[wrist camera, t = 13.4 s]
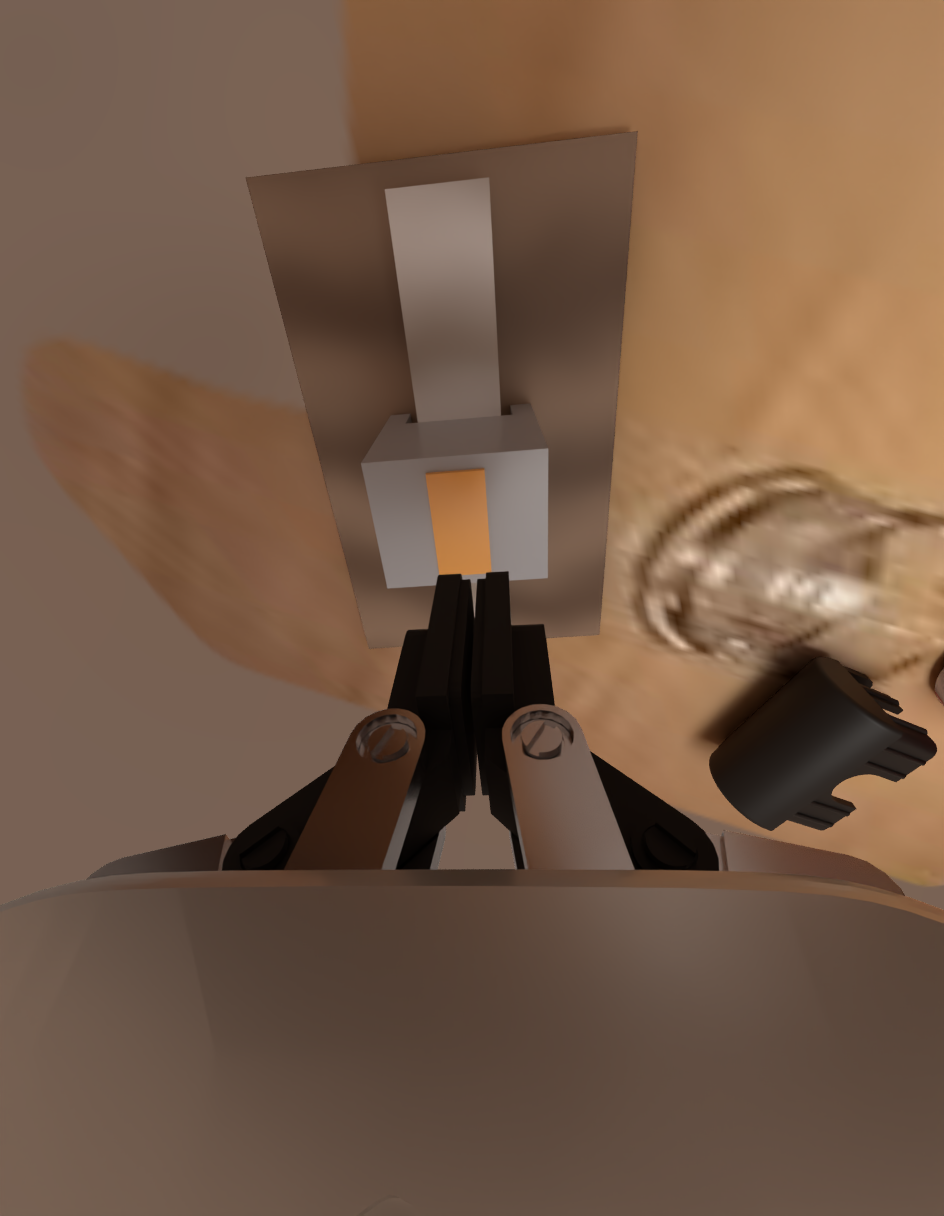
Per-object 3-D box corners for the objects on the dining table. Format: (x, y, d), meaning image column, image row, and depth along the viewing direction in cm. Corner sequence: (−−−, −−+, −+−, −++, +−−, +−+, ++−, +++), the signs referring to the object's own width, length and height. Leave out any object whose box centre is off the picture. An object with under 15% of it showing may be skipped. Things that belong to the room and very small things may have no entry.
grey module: (390, 415, 22) (359, 465, 16) (530, 403, 22) (548, 450, 16) (408, 517, 25) (386, 591, 19) (532, 508, 25) (548, 580, 19)
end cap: (792, 636, 31) (862, 717, 25) (876, 671, 32) (959, 755, 27) (691, 735, 36) (730, 820, 30) (767, 761, 37) (818, 847, 32)
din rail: (256, 181, 19) (221, 168, 16) (630, 137, 18) (654, 116, 15) (371, 638, 31) (362, 670, 28) (596, 625, 30) (606, 656, 28)
